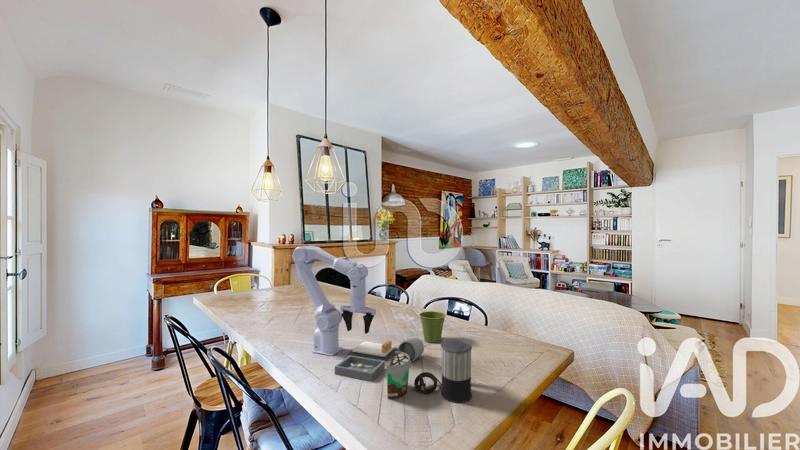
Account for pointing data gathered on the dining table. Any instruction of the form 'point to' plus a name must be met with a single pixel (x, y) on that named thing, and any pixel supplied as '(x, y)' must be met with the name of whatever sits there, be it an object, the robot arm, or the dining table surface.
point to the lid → (375, 348)
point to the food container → (398, 375)
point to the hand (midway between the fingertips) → (358, 331)
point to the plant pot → (432, 325)
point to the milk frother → (451, 372)
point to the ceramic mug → (412, 348)
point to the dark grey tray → (360, 368)
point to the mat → (375, 356)
